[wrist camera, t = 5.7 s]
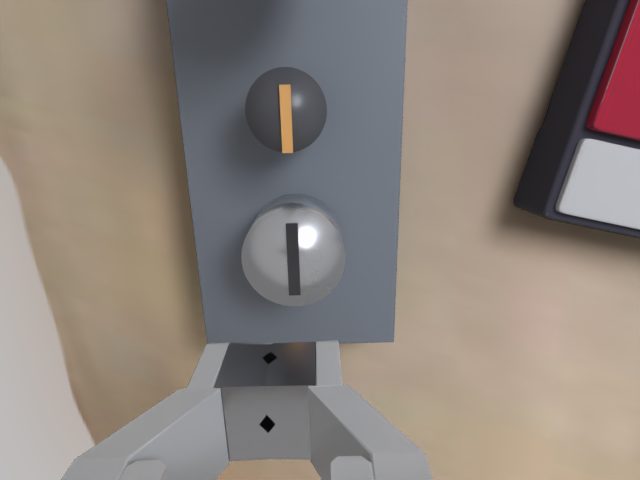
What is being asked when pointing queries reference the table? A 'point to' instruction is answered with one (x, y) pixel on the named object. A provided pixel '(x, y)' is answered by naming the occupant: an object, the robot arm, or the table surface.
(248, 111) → the dial
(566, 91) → the calculator
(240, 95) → the panel
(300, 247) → the knob
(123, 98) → the table surface
